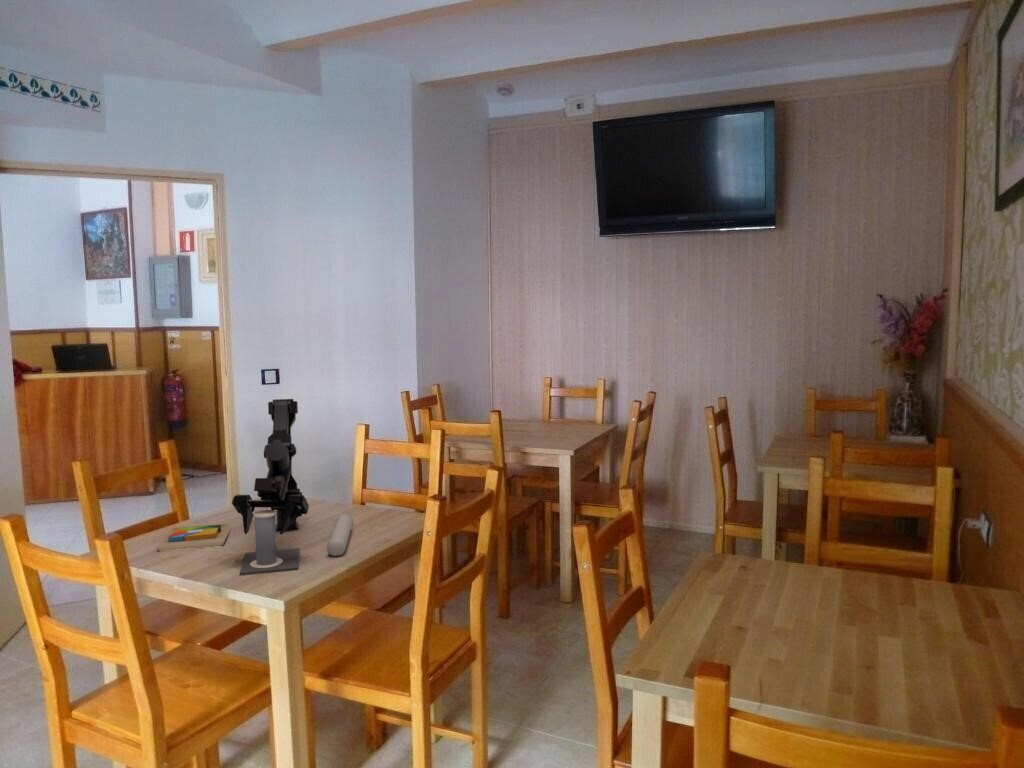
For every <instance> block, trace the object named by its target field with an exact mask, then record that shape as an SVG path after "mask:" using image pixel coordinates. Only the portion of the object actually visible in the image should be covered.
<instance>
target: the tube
mask: <svg viewBox="0 0 1024 768" xmlns="http://www.w3.org/2000/svg"><path fill="white" fill-rule="evenodd" d="M353 527H354V517H352V516H350V515H349V514H346V513H345V514H339V515H338V517H337V518H336V520H335V524H334V526H333V529H332V532H331V534H330V538H329V541H327V545H326V546H327V548H326V549H327V554H329V555H330V556H332V557H341V556H342V555H343V554H344V552H345V551H346V549H347V545H348V542H349V539H350V535H351V532H352V528H353ZM340 555H341V556H340Z"/></svg>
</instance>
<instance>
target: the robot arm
mask: <svg viewBox="0 0 1024 768" xmlns="http://www.w3.org/2000/svg"><path fill="white" fill-rule="evenodd" d="M298 403H299V402H298V401H296V400H294V398H284V399H283V398H278V399H272V401H269V402H268V403H267V408H268V410H267V411H268V415H269V416H270V417H271V418H270V419H271V421H272V422H273V423H272V424H273V425H272V433H271V434H270V435H269V436H268V437H267V444H266V445H264V450H263V458H264V459H266V465H267V468H268V472H267V474H266V477H256V478H255V481H254V487H253V491H254V492H257V494H256V495H257V497H259V498H260V499H253V498H252V497H251V494H235V495H234V496H233V498H232V501H231V504H232V506H233V508H234V509H235V510H236V512H237V513H238V514H240V515H241V516H242V524H243V534H245V535H247V534H249V531H250V528H251V526H252V525H251V524H252V522H253V518H254V513H255V509H256V508H270V510H274V511H276V523H275V526H276V532H279V534H280V535H283V534H284V532H286V531H294V530H299V522H298V521H297V520H298V519H297V518H301V517H302V516H303V515H307V514H308V513H309V509H310V508H309V507H310V505H309V502H308V501H307V499H306V497H305V495H303V492H301V490H300V488H298V483H297V481H296V479H295V478H294V477H293V467H292V466H293V465H292V463H293V462H292V460H293V458H294V457H295V455H297V447H296V445H295V444H294V443H292V430H291V429H292V427H293V425H294V423H295V422H296V420H297V419H296V417H297V414H298V413H299V412H298V411H299V410H298V409H299V404H298ZM298 415H299V414H298ZM253 512H254V513H253Z"/></svg>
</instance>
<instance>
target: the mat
mask: <svg viewBox="0 0 1024 768" xmlns="http://www.w3.org/2000/svg"><path fill="white" fill-rule="evenodd" d="M276 552H277V562H276V563H274V564H271V565H258V564H256V551H251V552H245V553H244V557H243V560H242V562H241V567H240V571H239V576H244V575H245V576H247V575H246V574H248V575H257V574H256V573H258V574H266V573H276V572H277V573H279V572H286V571H287V572H288V571H296V570H297V571H298V570H299V567H300V566H299V565H300V563H299V562H300V547H295V548H288V549H287V548H285V549H283V548H282V549H276Z"/></svg>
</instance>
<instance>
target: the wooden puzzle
mask: <svg viewBox="0 0 1024 768" xmlns="http://www.w3.org/2000/svg"><path fill="white" fill-rule="evenodd" d="M230 530H232V527H231V525H230V524H229V523H227V522H226V523H212V524H201V525H198V524H197V525H188V526H178V527H173V528H171V529H169V531H168V533H167V535H165V537H164V538H163V539H162V540H161V541H160V543H158V545H157V550H158V552H159V551H166V550H176V549H187V548H202V547H213V548H215V547H214V546H222V547H224V545H225V543H226V540H227V539H228V536H229V534H230V533H231V531H230ZM202 549H203V548H202Z"/></svg>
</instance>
